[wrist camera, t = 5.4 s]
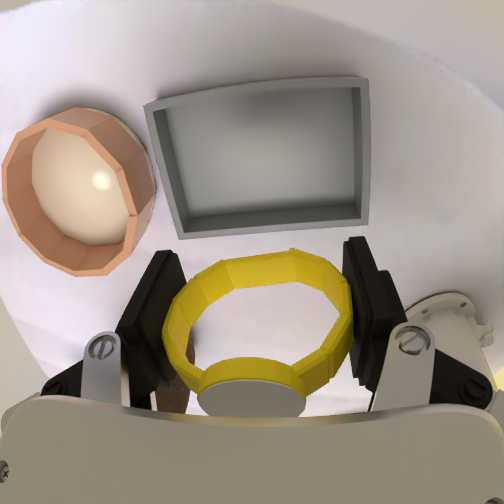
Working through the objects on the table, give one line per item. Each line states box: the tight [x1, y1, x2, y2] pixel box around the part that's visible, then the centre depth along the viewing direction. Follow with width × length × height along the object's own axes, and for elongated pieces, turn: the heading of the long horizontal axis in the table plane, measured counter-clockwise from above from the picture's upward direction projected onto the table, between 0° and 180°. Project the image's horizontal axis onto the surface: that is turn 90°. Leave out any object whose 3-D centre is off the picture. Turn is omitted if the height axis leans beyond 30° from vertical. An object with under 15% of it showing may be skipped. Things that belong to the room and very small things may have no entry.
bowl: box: [2, 107, 156, 277], centre depth 23 cm, size 14×14×5 cm
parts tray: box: [143, 76, 371, 240], centre depth 22 cm, size 15×11×3 cm
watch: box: [161, 248, 353, 418], centre depth 9 cm, size 6×3×6 cm, turn 103°
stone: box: [154, 338, 195, 414], centre depth 30 cm, size 12×7×20 cm, turn 155°
